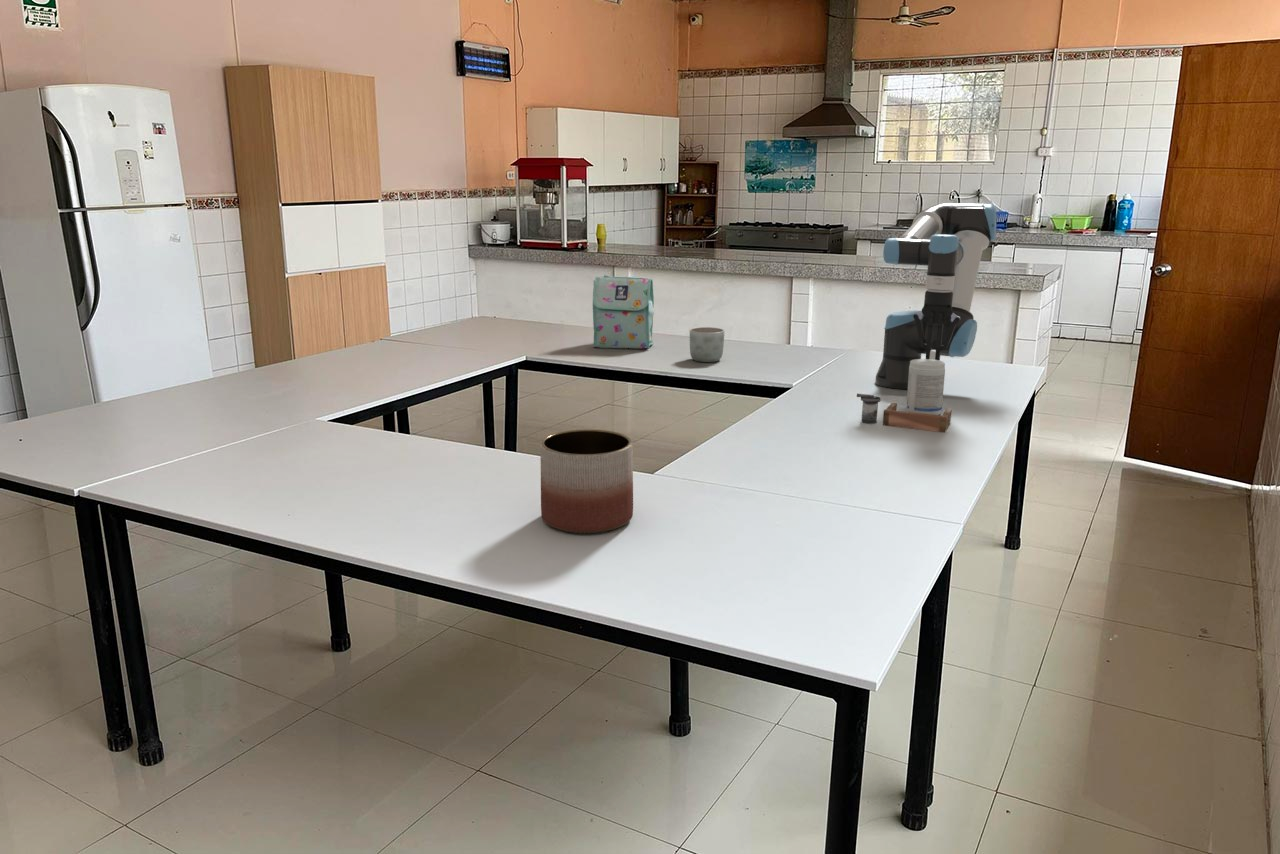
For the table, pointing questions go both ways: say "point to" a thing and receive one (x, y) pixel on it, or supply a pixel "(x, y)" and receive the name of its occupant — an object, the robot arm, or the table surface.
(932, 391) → the supplement tub
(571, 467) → the planter
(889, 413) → the bay
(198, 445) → the table surface
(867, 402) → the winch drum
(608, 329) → the lunch bag
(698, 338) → the planter
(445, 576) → the table surface
